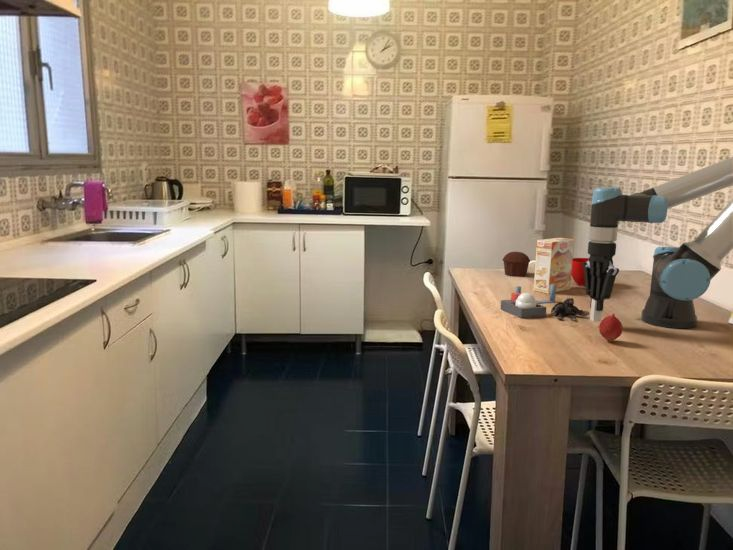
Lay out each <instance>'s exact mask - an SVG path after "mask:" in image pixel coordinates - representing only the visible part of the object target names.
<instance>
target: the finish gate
mask: <svg viewBox="0 0 733 550" xmlns="http://www.w3.org/2000/svg"><path fill="white" fill-rule="evenodd" d="M514 293H520V294H522V286H518V285H516V286H515V291H514ZM556 293H557V292H556V285H555V284H551V289H550V294H549V299H547V300H544V299H543V300H536V301H537V304H552V303H555V302H556Z"/></svg>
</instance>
